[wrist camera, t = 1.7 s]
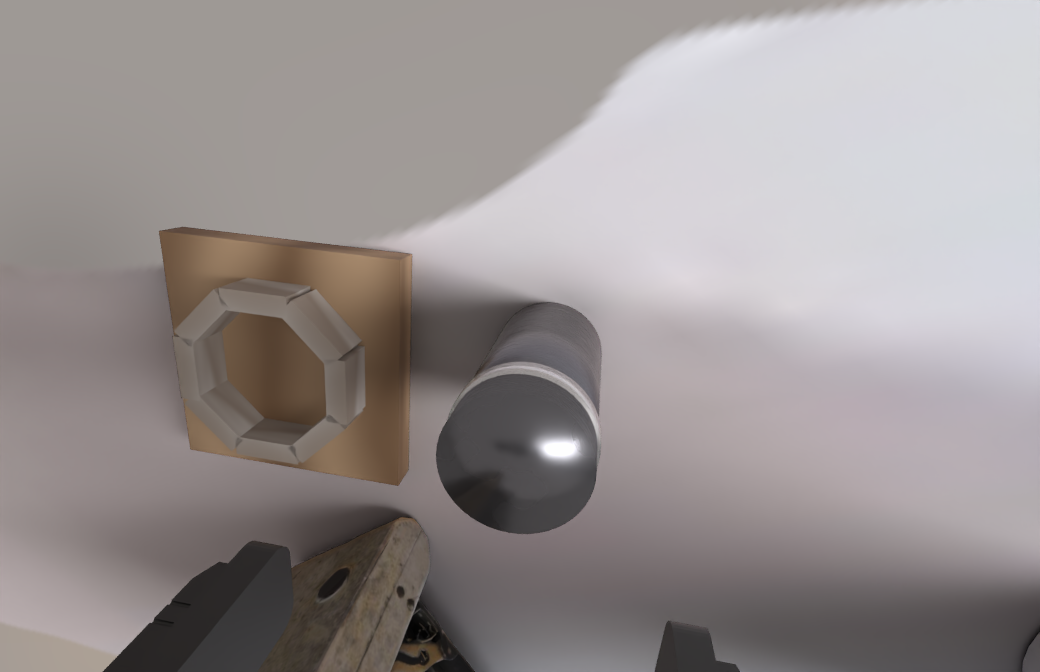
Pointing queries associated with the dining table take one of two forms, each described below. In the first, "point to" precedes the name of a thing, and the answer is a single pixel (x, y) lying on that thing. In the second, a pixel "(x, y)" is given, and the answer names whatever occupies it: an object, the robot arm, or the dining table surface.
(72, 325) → the dining table surface
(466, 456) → the lens
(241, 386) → the mount
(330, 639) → the vintage camera
